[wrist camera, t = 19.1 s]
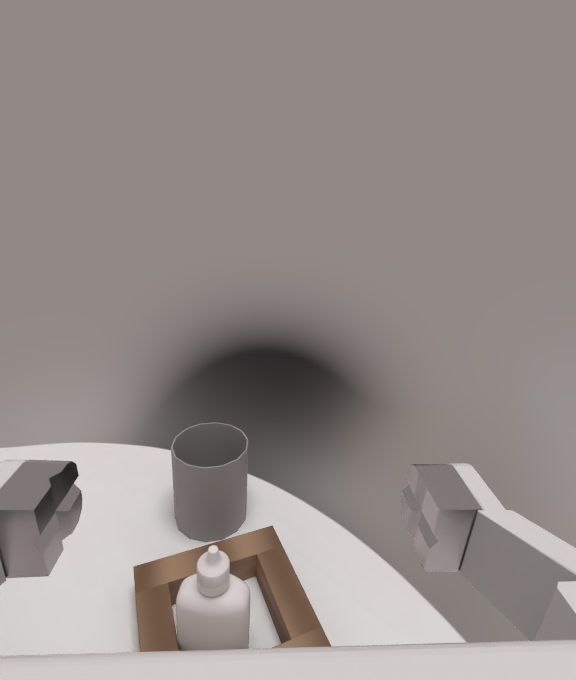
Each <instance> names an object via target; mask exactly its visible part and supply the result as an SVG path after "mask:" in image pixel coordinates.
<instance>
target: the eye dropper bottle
mask: <svg viewBox="0 0 576 680" xmlns="http://www.w3.org/2000/svg"><path fill="white" fill-rule="evenodd" d="M176 619H177V638H178V649H179V651H192V650H227V649H248V646H249V621H250V589H249V586H248V585H247V584H246V583H245V582H244V581H242V580H241V579H239V578H238V577H236V576H234V575H232V574H230V560H229V557H228V556H227V555H226V554H225V553H224V552H223V551H220V550H218V547H217V546H216V545H212V546H210V547H209V549H208V551H207V552H205V553H204V554H203V555H201V557H200V558H199V559H198V562H197V574H194V575H191V576H189V577H187V578H186V579H184V581H183V582H182V584H181V586H180V589H179V592H178V595H177V599H176Z"/></svg>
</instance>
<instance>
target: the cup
mask: <svg viewBox="0 0 576 680" xmlns="http://www.w3.org/2000/svg"><path fill="white" fill-rule="evenodd" d="M171 453H172V471H173V489H174V507H175V519H176V523H177V526H178V529H179V530H180V531H181V532H182V533H183V534H184V535H186V536H187V537H188V538H189V539H193V540H198V541H202V542H210V541H216V540H222V539H224V538H226V537H228V536H230V535H231V534H233V533H235V532H236V531H237V530H238V529H239V528H240V526H241V525H242V524H243V522H244V521H245V516H246V501H247V464H248V461H247V460H248V439H247V437H246V436H245V434H244V433H243V431H242V430H240V429H238V428H236V427H234V426H232V425H229V424H223V423H217V422H215V423H204V424H198V425H196V426H193V427H190V428H187V429H185V430H184V431H182V432H181V433H180V434H179V435H177V436H176V437H175V439H174V442H173V444H172V446H171Z"/></svg>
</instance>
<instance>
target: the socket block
mask: <svg viewBox="0 0 576 680" xmlns="http://www.w3.org/2000/svg"><path fill="white" fill-rule="evenodd" d="M212 545H216V546H217V547H218V550H220V551H223V552H224V553H225V554H226V555H227V556H228V557H229V560H230V574H232V575H234V576H236V577H238V578H239V579H241V580H245V579H248V578H251V577H254V576H256V578H257V580H258V583H259V586H260V588H261V591H262V593H263V596H264V599H265V601H266V604H267V606H268V609H269V612H270V614H271V617H272V619H273V622H274V625H275V627H276V630H277V632H278V635H279V638H280V640H281V643H282V644H280V645H277V646H275V647H273V648H298V647H331V645H330V643H329V641H328V639H327V637H326V635H325V633H324V631H323V628H322V626H321V624H320V622H319V620H318V618H317V616H316V614H315V612H314V610H313V608H312V606H311V604H310V602H309V600H308V598H307V596H306V594H305V591H304V589H303V587H302V585H301V583H300V581H299V579H298V577H297V575H296V573H295V571H294V569H293V567H292V565H291V563H290V561H289V559H288V557H287V555H286V552H285V550H284V548H283V546H282V544H281V542H280V540H279V538H278V536H277V534H276V532H275V530H274V528H273V526H269V527H266V528H263V529H259V530H256V531H253V532H249V533H246V534H242V535H239V536H236V537H232V538H229V539H226V540H222V541H219V542H215V543H212V544H209V545H205V546H202V547H199V548H195V549H192V550H189V551H185V552H182V553H178V554H175V555H172V556H168V557H165V558H162V559H158V560H155V561H152V562H148V563H145V564H141V565H138V566H135V567H134V580H135V593H136V606H137V618H138V631H139V644H140V652H157V651H179V649H178V643H177V636H176V630H175V624H174V617H173V611H172V605H173V604H176V599H177V595H178V592H179V589H180V586H181V584H182V582H183V581H184V579H186V578H187V577H189V576H191V575H194V574H197V562H198V559H199V558H200V557H201V555H203V554H204V553H205V552H207V551H208V549H209V547H210V546H212Z"/></svg>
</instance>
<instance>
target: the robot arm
mask: <svg viewBox="0 0 576 680" xmlns="http://www.w3.org/2000/svg"><path fill="white" fill-rule="evenodd" d="M78 476H79V475H78V470H77V465H76V464H75V463H74V462H72V461H48V460H5V461H2V462H0V585H1V584H2V583H4V582H5V581H6V578H18V577H41V576H49V574H50V573H51V571H52V569H53V567H54V565H55V564H56V562H57V560H58V558H59V556H60V555H61V553H62V551H63V544H62V540H63V539H65V538H66V537H67V536H69V535H70V534H72V533H73V531H74V529H75V527H76V525H77V523H78V521H79V517H80V514H81V510H82V494H81V490H80V489H79V488H78V487H77V486H76V485H75V484H74V482H75V480H76V479H77V477H78ZM405 478H406V480H407V482H408V484H409V485H408V486H407V487H406V488H405V489H404V490H403V491H402V496H401V502H400V503H401V515H402V519H403V523H404V526H405V528H406V530H407V532H409V533H410V534H411V535H412V536H414V537H415V541H414V545H413V547H414V549H415V552H416V554H417V556H418V559H419V560H420V563H421V566H422V568H423V570H424V571H449V572H460V573H459V574H460V575H461V576H463V577H464V578H465V579H466V580H467V581H468V582H469V583H470V584H471V585H472V586H473V587H474V588H475V589H476V590H477V591H478V592H479V593H480V594H481V595H482V596H483V597H484V598H486V599H487V600H488V601H489V602H490V603H491V604H492V605H493V606H494V607H495V608H496V609H497V610H498V611H499V612H500V613H501V614H502V615H503V616H504V617H505V618H506V619H508V621H510V622H511V623H512V624H513V625H514V626H515V627H516V628H517V629H518V630H519V631H520V632H521V633H522V634H523V635H524V636H525V637H526V638H527V639H528V640H529V641H509V642H476V643H475V642H471V643H435V644H401V645H367V646H332V647H298V648H263V649H227V650H192V651H157V652H122V653H87V654H52V655H17V656H0V680H576V548H574V547H573V546H571V545H569V544H567V543H566V542H564V541H563V540H561V539H559V538H558V537H556V536H554V535H552V534H551V533H549V532H547V531H546V530H544V529H542V528H541V527H539V526H537V525H535V524H534V523H532V522H531V521H529V520H527V519H526V518H524V517H522V516H521V515H519V514H517V513H515V512H514V511H510V510H505V508H504V507H503V506H502V504H501V503H500V502H499V501H498V499H497V498H496V497H495V495H494V494H493V493H492V492H491V490H490V489H489V488H488V486H487V485H486V484H485V482H484V481H483V480H482V479H481V477H480V476H479V475H478V473H477V472H476V471H475V469H474V468H473V467H472V466H471V465H469V464H410V465H409V467H408V468H407V471H406V476H405Z"/></svg>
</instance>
